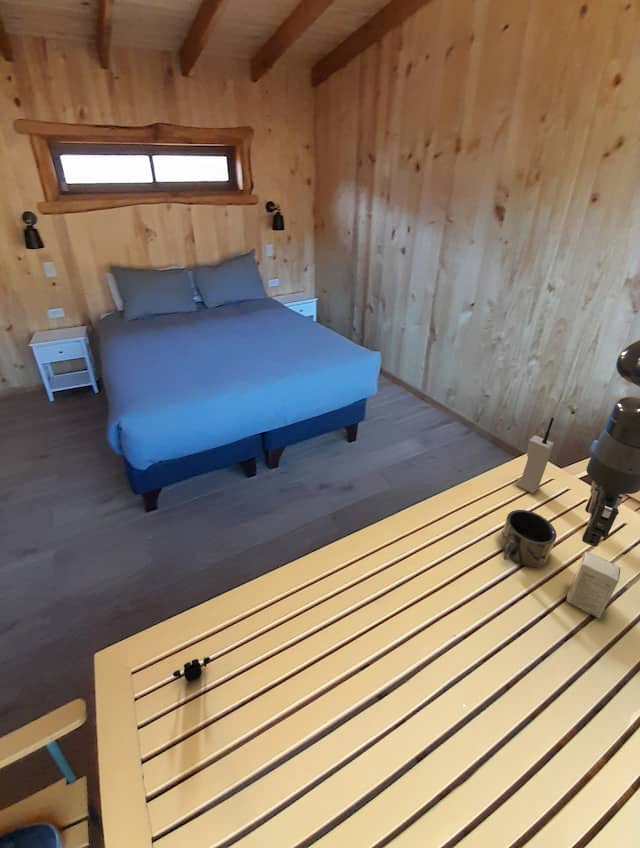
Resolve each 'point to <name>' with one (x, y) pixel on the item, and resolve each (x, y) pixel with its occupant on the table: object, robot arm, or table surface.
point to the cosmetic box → (593, 584)
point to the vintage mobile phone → (536, 461)
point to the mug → (527, 538)
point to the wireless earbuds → (192, 669)
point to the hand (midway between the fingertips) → (590, 527)
